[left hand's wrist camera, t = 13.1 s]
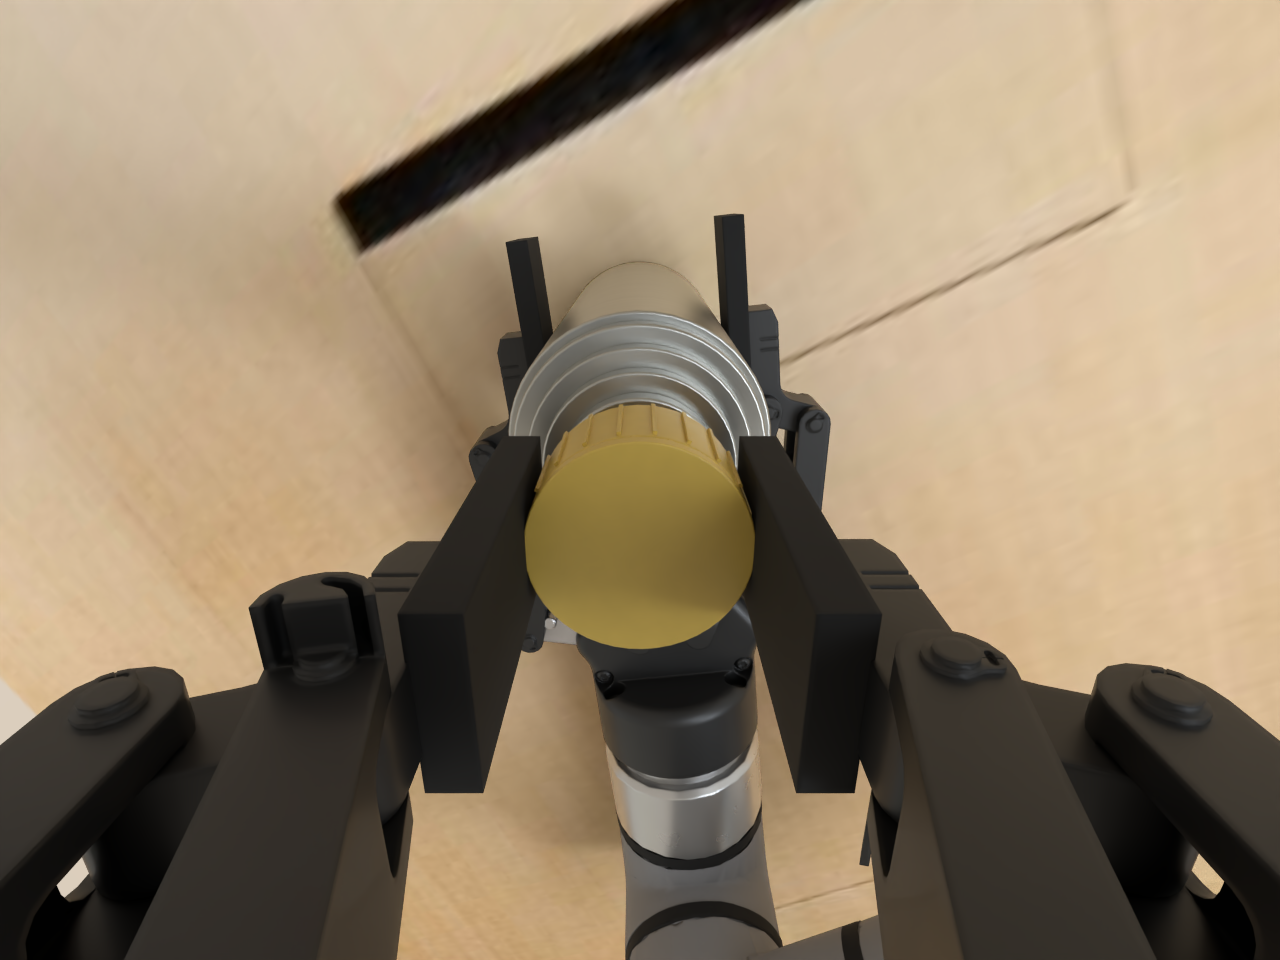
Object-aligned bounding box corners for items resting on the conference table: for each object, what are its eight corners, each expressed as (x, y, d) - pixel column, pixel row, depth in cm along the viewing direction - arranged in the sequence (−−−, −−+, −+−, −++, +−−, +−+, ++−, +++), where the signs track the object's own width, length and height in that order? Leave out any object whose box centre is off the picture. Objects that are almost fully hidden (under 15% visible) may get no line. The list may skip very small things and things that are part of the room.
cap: (676, 360, 13) (684, 391, 11) (776, 529, 14) (800, 586, 12) (498, 467, 14) (471, 515, 12) (608, 617, 15) (603, 686, 13)
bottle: (665, 232, 30) (711, 277, 11) (736, 360, 33) (886, 595, 13) (540, 312, 32) (375, 485, 12) (617, 430, 34) (585, 742, 14)
